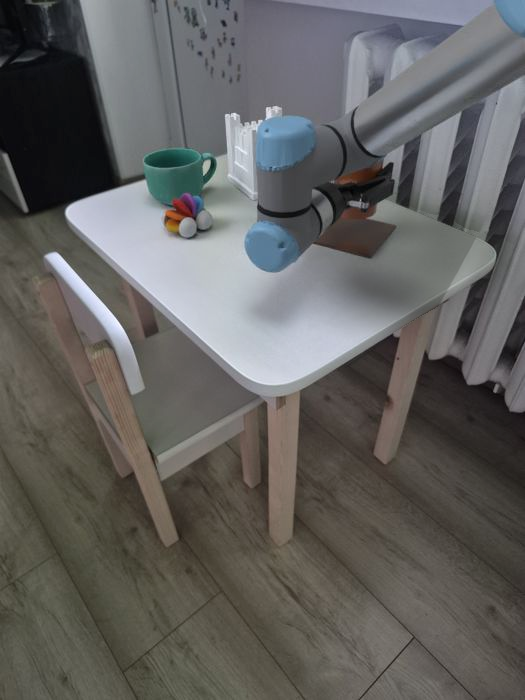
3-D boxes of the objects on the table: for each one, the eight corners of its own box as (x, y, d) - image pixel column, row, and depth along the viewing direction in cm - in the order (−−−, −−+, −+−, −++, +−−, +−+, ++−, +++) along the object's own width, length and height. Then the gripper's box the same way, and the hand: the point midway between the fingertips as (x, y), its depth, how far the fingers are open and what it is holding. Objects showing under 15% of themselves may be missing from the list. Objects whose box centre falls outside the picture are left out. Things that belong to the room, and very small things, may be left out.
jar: (382, 205, 93) (393, 138, 85) (365, 223, 88) (375, 153, 79) (341, 196, 97) (347, 130, 89) (322, 213, 91) (327, 144, 83)
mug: (158, 215, 104) (150, 172, 97) (144, 194, 112) (136, 153, 106) (229, 201, 109) (226, 158, 102) (210, 182, 117) (206, 141, 111)
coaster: (395, 228, 97) (396, 225, 97) (370, 258, 88) (370, 255, 88) (332, 213, 103) (333, 210, 103) (302, 240, 94) (303, 238, 94)
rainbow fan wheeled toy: (157, 230, 98) (150, 196, 94) (193, 214, 104) (189, 182, 99) (183, 244, 94) (178, 209, 89) (219, 226, 99) (216, 193, 94)
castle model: (253, 200, 109) (251, 131, 99) (227, 179, 118) (222, 114, 108) (306, 187, 114) (309, 120, 104) (277, 168, 123) (277, 105, 113)
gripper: (256, 218, 83) (314, 174, 97) (374, 248, 74) (418, 195, 89) (255, 175, 78) (316, 135, 92) (381, 202, 69) (427, 154, 84)
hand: (366, 165), depth 91 cm, fingers closed on jar, 9 cm apart
